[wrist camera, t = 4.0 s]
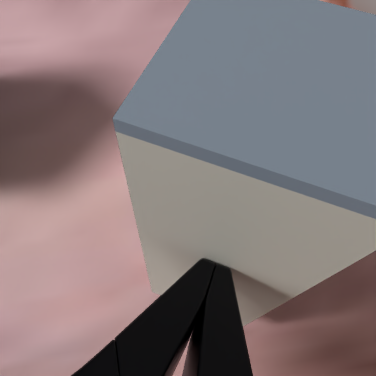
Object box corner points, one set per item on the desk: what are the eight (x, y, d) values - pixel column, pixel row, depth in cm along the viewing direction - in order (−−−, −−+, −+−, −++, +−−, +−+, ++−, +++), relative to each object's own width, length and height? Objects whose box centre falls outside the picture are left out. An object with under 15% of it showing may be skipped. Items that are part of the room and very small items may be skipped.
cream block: (240, 327, 15) (425, 221, 4) (151, 291, 15) (112, 118, 5) (263, 242, 17) (424, 27, 6) (185, 213, 18) (208, -28, 7)
